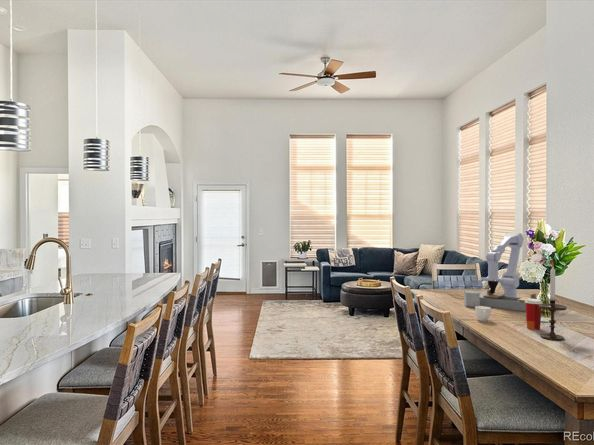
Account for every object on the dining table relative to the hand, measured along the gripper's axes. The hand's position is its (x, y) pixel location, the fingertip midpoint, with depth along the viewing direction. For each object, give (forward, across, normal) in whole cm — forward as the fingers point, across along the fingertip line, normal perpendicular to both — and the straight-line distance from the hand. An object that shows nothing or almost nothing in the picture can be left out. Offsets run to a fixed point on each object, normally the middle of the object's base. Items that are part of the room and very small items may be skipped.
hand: (492, 293), depth 280 cm
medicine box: (+7, -8, -14) cm, 17 cm away
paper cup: (+7, +35, -50) cm, 62 cm away
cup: (+7, +11, -49) cm, 51 cm away
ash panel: (+2, +20, 0) cm, 20 cm away
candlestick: (+7, +46, -63) cm, 78 cm away
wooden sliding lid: (+2, +1, 0) cm, 2 cm away
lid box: (+7, +8, 0) cm, 11 cm away
